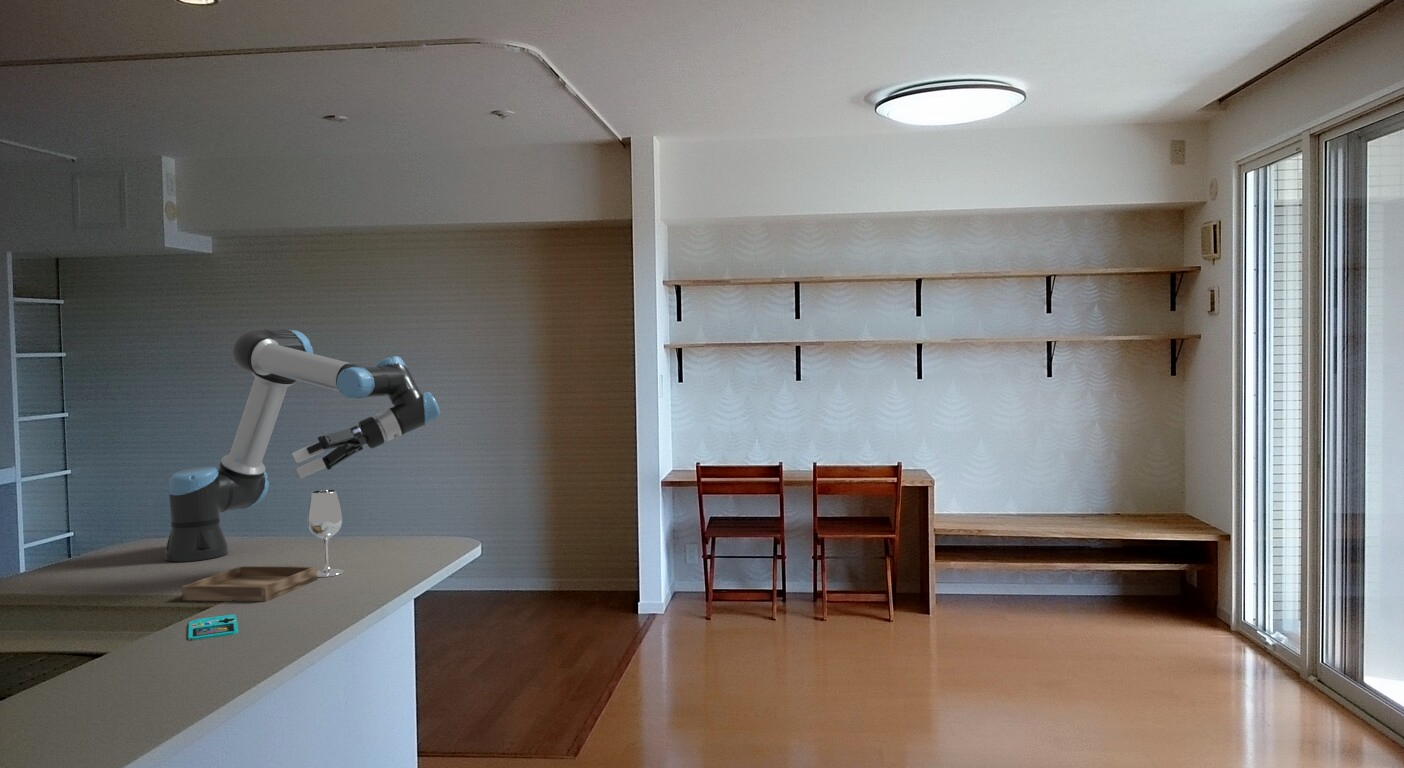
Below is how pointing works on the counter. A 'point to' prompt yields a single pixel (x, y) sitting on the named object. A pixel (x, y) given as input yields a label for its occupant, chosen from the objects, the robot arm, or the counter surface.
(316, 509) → the wineglass
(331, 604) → the counter surface
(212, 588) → the walnut tray
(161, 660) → the counter surface
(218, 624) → the handheld gaming console
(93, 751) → the counter surface
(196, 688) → the counter surface
